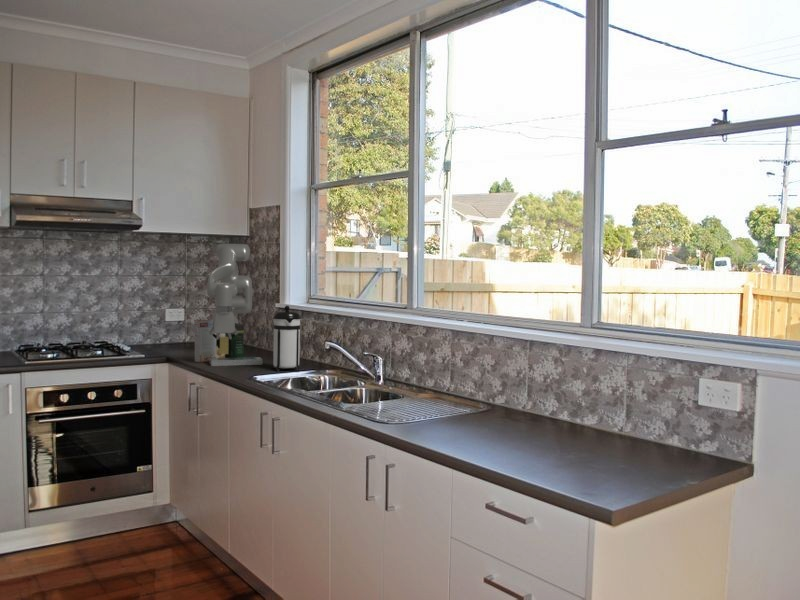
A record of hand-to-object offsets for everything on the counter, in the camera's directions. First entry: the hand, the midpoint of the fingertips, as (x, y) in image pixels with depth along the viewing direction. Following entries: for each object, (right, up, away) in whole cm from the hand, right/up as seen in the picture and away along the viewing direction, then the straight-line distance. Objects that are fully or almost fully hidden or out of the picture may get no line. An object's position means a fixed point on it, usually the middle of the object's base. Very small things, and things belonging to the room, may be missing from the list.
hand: (223, 347), depth 348 cm
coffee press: (+31, -10, -9) cm, 34 cm away
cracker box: (-10, -8, +12) cm, 18 cm away
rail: (+6, -9, +2) cm, 10 cm away
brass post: (0, -3, 0) cm, 3 cm away
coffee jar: (0, -8, +22) cm, 24 cm away
